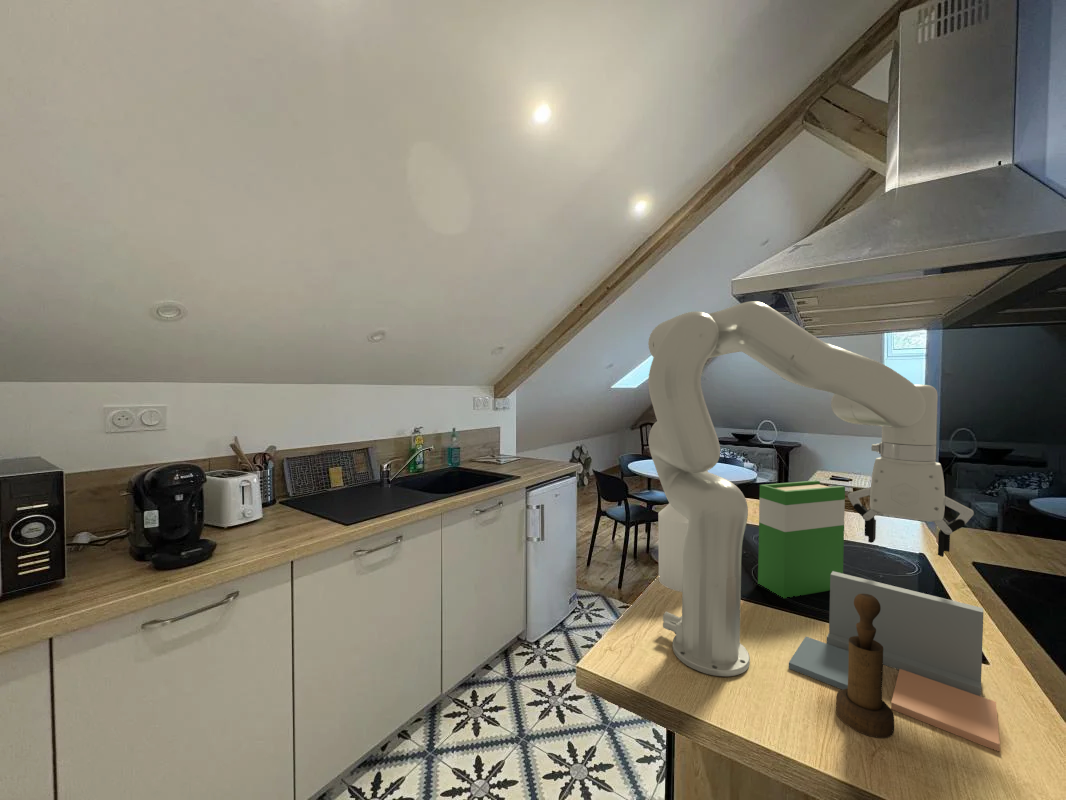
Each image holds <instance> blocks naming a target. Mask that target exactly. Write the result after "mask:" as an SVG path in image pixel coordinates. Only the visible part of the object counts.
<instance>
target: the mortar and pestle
mask: <svg viewBox="0 0 1066 800" xmlns="http://www.w3.org/2000/svg"><path fill="white" fill-rule="evenodd" d="M854 606H855V608H856V610H857V612H858V614H859V616H860V622H859V623H857V624H856V628H857V633H858V636H852V637H850V638H849V664H848V688H847V689H844V690H842V689H840V690H838V692H837V693H836V696H835V697H836V699H835V713H836V715H837V716H838V718H839V719H840V720H841V721H842V722H843V723H844V724H845V725H847V726H848V727H849V728H851V729H853V730H855V732H858V733H860V734H862V735H864V736H865V735H866V736H868V737H872V738H878V739H885V738H890V737H891V736H893V734H894V733H895V714H894V712H893V710H892V709H891V707H890V706H889V705H887V703H886V702H885V701H884V700H883V671H884V670H883V667H884V665H883V646H882V645H881V644H880V643H878V642H877V641H875V640H873V639H874V637H875V634H876V628H875V627H874V626H873V620H874V619H875V618H876V616H877V615H878V614H879V613H880V609H881V607H880V603H879V601H878V600H877V599H876V598H875V597H874V596H872V595H869V594H858V595H857V596H856V597H855V599H854Z"/></svg>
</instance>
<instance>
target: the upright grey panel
mask: <svg viewBox="0 0 1066 800" xmlns="http://www.w3.org/2000/svg"><path fill="white" fill-rule="evenodd" d="M858 594H869V595H872V596H874V597H875V598H876V599H877V600H878V601H879V603H880V607H881V609H880V613H879V614H878V615H877V616H876V618H875V619H874V620H873V626H874V627H875V628H876V634H875V637H874V639H873V640H875V641H877V642H878V643H880V644H881V645H882V646H883V666H887V667H888V668H889V667H890V668H893V669H895V670H898V671H899V669H902V670H905V671H908V672H911V673H914V674H917V675H920V676H923V677H925V678H928V679H931V680H934V681H937V682H940V683H943V684H946V685H949V686H952V687H954V688H957V689H960V690H963V691H966V692H969V693H972V694H975V695H978V696H981V697H982V672H983V671H982V667H983V641H984V640H983V639H984V607H982V606H981V607H980V606H977V605H973V604H969V603H964V602H960V601H957V600H953V599H947V598H944V597H939V596H937V595H932V594H927V593H923V592H919V591H915V590H911V589H906V588H903V587H899V586H896V585H895V586H894V585H891V584H886V583H882V582H878V581H875V580H871V579H868V578H867V579H866V578H863V577H858V576H854V575H850V574H846V573H844V572H843V573H839V572H834V571H832V573H831V574H830V590H829V618H828V619H829V621H828V628H829V629H828V634H827V635H826V643H827V644H829V645H832V646H835V647H838V648H841V649H844V650H847V651H849V638H850V637H852V636H858V633H857V628H856V624H857V623H859V622H860V616H859V614H858V612H857V610H856V608H855V606H854V599H855V597H856V596H857V595H858Z"/></svg>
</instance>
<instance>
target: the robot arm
mask: <svg viewBox="0 0 1066 800" xmlns="http://www.w3.org/2000/svg"><path fill="white" fill-rule="evenodd" d="M648 349H649V353H650V355H651V356H652V357H653V359H652V361H651V365H650V369H649V373H648V391H649V397H650V400H651V404H652V407H653V412H654V414H655V418H656V420H657V421H655V423H654V424H653V425H652V427H650V428H651V429H650V431H649V434H648V448H649V453H650V455H651V459H652V462H653V464H654V467H655V470H656V473H657V476H658V478H659V481H660V484H661V487H662V490H663V492H664V494H665V497H666V499H667V501H668V504H669V503H670V504H671V506H672V507H673V508H674V509H675V510H676V511H677V512H679V513H680V514H681V515H683V516H684V517H685V518H686V519H688V529H687V533H686V536H685V540H684V545H683V581H682V592H681V593H682V596H681V600H682V601H681V616H677V615H676V614H674V613H670V612H668V611H665V612H664V613H663V615H662V621H663V623H662V627H663V629H666V630H668V631H671V632H673V633H674V634H675V635H674V637H673V639H672V650H673V653H674V655H675V656H676V657H677V658H678V660H679V661H680V662H681V663H683V664H684V665H686V666H688V667H689V668H691V669H693V670H695V671H697V672H699V673H703V674H706V675H711V676H717V677H734V676H738V675H740V674H743V673H745V672H746V671H747V670H748V669H749V667H750V662H751V661H750V660H751V657H750V653H749V652H748V650H747V649H746V648H747V647H745V646H744V645H743V644H742V643H741V602H742V601H741V600H742V599H741V597H742V594H741V591H742V588H741V587H742V552H743V543H744V542H743V540H744V537H745V535H744V534H745V531H746V528H747V524H748V523H747V522H748V517H749V507H748V502H747V499H746V497H745V495H744V493H743V491H741V489H740V488H739V487H738V486H737V485H736V484H735V483H733V482H731V481H730V480H728V479H726V478H725V477H721V476H719V475H717V474H714V473H712V472H709V471H710V470H711V469H713V468H714V467H715V466H716V465H717V463H718V462H719V459H720V455H721V445H720V442H719V441H720V440H719V437H718V435H717V432H716V429H715V426H714V423H713V421H712V418H711V415H710V412H709V409H708V406H707V403H706V400H705V397H704V392H703V389H702V374H703V373H702V372H703V369H704V367H705V364H707V363H706V362H708V359H710V358H716V357H719V356H723V355H729V354H733V353H740V352H741V353H744V354H746V355H747V357H750V358H751V359H753V360H754V361H756V362H758V363H760V364H761V365H763V366H764V367H766V368H767V369H769V370H770V371H771V372H773V373H775V374H776V375H778V376H780V378H782V379H784V380H785V381H787V382H789V383H791V384H795V385H798V386H801V387H804V388H808V389H812V390H813V389H814V390H819V391H822V392H827V393H831V394H833V395H832V396H831V397H832V398H831V401H830V405H831V410H832V412H833V413H834V415H835V416H836V417H837V418H838V419H840V420H842V421H844V422H845V423H850V424H853V425H862V426H874V427H876V426H877V427H881V441H880V442H879V443H876V444H875V443H872V444H871V448H870V449H871V452H876V453H878V454H880V457H876V458H875V459H874V464H873V468H872V472H871V480H870V481H871V482H870V486H869V487H866V488H863V489H859V490H858V489H857V490H856V491H855V490H854V491H852V492H849V493H848V494H847V499H849V502H850V503H851V505H852V506H853V509H854V510H855V511H856V512H857V514H859V515H860V516H861V517H862V519H863V520H864V536H865V537H868V538H867V539H868V543H869V544H870V543H871V544H872V543H874V542H875V541H876V537H877V535H876V533H877V532H876V531H877V529H876V528H877V526H876V525H877V519H876V518H875V517H876V516H877V515H878V514H881V515H886V516H891V517H895V518H896V517H898V518H904V519H910V520H916V521H921V522H922V521H923V522H929V523H930V522H931V523H934V524H935V525H936V526H937V527H938V528H939V529H940V530H938V536H937V537H938V539H937V541H938V542H937V544H938V545H937V556H938V557H942V558H943V557H944V556H945V552H948V553H950V551H951V550H950V548H951V547H950V546H951V544H950V542H951V535H952V533H955V532H956V531H957V530H960V529H961V528H963V527H965V525H967V523H968V522H969V521H970V520H971V518H972V517H973V516H974V515H975V513H974V510H973V509H972V508H969V507H968V506H965V505H963V504H961V503H960V502H958V501H956V500H954V499H952V498H950V497H948V496H946V494H945V493H946V492H945V479H944V471H943V467H942V464H941V463H940V462H937V460H936V459H937V458H936V457H937V456H936V455H937V427H938V426H937V425H938V424H937V423H938V422H937V421H938V399H939V397H938V391H937V389H936V388H935V387H934V386H932V385H929V384H914V383H913V382H911V381H910V380H908V379H907V378H906V377H904V376H903V375H902V374H900V373H898V372H897V371H895V370H894V369H893V368H891V367H889V366H888V365H885V364H883V363H881V362H879V361H877V360H875V359H872V358H869V357H867V356H864V355H861V354H858V353H856V352H852V351H850V350H847V349H845V348H843V347H839V346H836V345H833V344H831V343H827V342H825V341H824V340H821V339H819V338H817V336H815V335H814V334H811V332H809V331H807V330H805V329H804V328H802V326H799V324H796V323H795V322H794V321H792V320H791V319H790V318H788V317H787V316H785V315H783V314H782V313H781V312H779V311H777V310H776V309H774V308H772V307H771V306H770V305H768V304H765V303H764V302H761V301H757V300H754V301H752V300H751V301H744V302H741V303H739V304H736V305H733V306H730V307H727V308H724V309H721V310H718V311H715V312H710V313H706V312H703V311H698V310H697V311H696V310H695V311H689V312H688V311H687V312H684V313H682V314H679V315H677V316H674V317H672V318H670V319H667V320H665V321H663V322H661V323H659V324H658V325H656V326H655V327H654V328H653V330H652V331H651V333H650V334H649V338H648ZM868 496H869V507H870V508H869V509H867V507H865V505H863V504H862V503H861V500H860V499H861V498H864V497H868ZM945 507H948V508H949V509H952V510H954V511H955V512H956V513H959V515H958V516H957V517H956V518H955V519H953V520H951V521H950V522H949V521H948V520H946V518H945V510H946V509H945Z"/></svg>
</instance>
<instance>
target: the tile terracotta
mask: <svg viewBox="0 0 1066 800" xmlns="http://www.w3.org/2000/svg"><path fill="white" fill-rule="evenodd" d="M890 704H891V705H890V706H891V707H890V709H891V710H892V711H894V712H898V713H900V714H903V715H905V716H907V717H910V718H913V719H916V720H918V721H920V722H923V723H925V724H928V725H931V726H933V727H935V728H938V729H940V730H942V731H943V730H944V731H945V732H948V733H951V734H952V735H956V736H958V737H960V738H963V739H966V740H969V741H971V742H972V743H975V744H978V745H981V746H983V747H986V748H988V749H991V750H993V749H994V750H993V751H996V750H997V751H996V752H998V751H1000V749H1001V746H1000V745H1001V744H1000V743H1001V742H1000V733H999V723H998V722H999V720H998V712H997V711H998V710H997V701H995V700H992V699H989V698H987V697H983V696H982V695H981V696H978V695H975V694H972V693H969V692H966V691H963V690H960V689H957V688H954V687H952V686H949V685H946V684H943V683H940V682H937V681H934V680H931V679H928V678H925V677H923V676H920V675H917V674H914V673H911V672H908V671H905V670H902V669H899V670H898V674H897V677H896V683H895V685H894V690H893V694H892V698H891V702H890Z"/></svg>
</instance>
